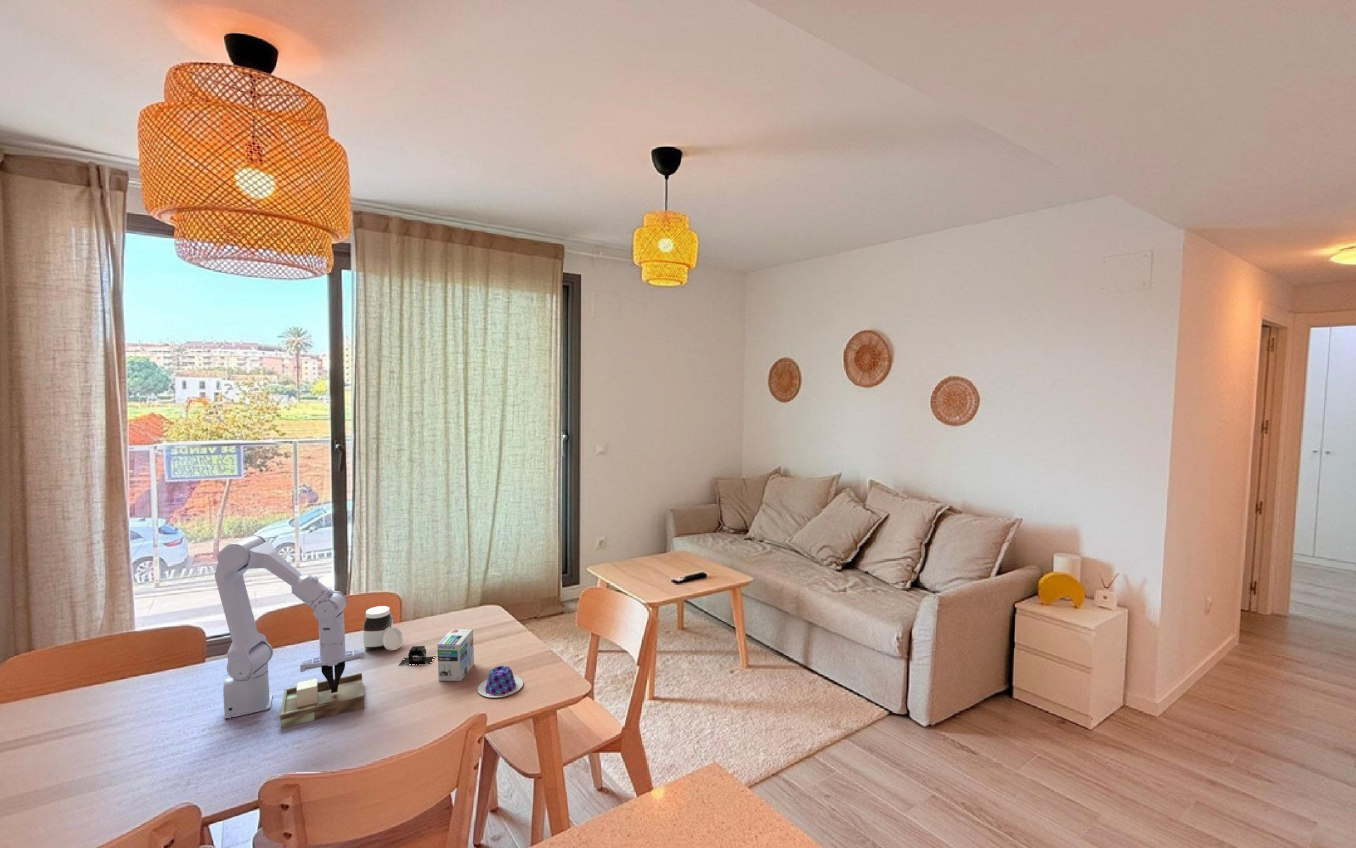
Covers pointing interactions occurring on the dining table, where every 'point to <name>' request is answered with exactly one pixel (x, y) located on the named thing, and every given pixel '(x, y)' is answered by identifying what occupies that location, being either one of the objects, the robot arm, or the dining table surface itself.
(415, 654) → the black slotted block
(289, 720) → the brown shallow open box
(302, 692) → the cream block
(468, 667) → the light bulb box
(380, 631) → the spread jar
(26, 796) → the dining table surface
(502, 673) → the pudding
